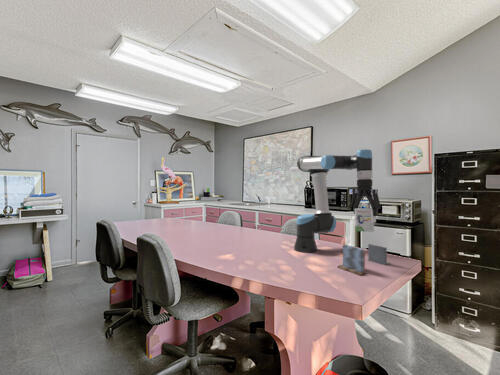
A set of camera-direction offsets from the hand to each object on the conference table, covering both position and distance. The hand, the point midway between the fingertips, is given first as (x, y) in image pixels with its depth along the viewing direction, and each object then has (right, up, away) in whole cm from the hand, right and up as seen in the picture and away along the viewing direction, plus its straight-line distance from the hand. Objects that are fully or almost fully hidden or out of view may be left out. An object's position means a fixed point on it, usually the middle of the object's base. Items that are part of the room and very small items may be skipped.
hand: (365, 221), depth 138 cm
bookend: (+10, -23, +5) cm, 25 cm away
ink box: (0, -5, 0) cm, 5 cm away
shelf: (0, -24, -1) cm, 24 cm away
